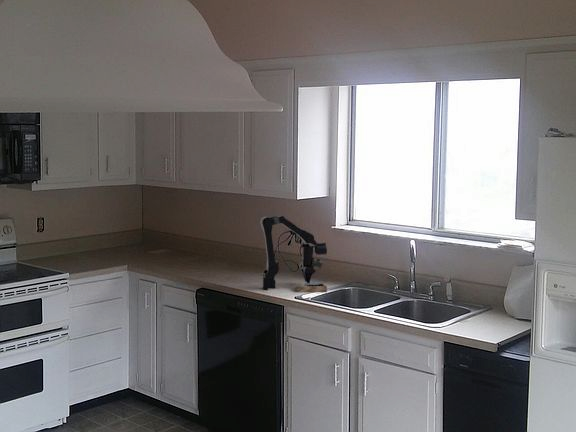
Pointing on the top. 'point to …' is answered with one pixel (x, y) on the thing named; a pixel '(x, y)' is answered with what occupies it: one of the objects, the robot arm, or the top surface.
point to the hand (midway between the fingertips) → (307, 282)
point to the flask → (313, 284)
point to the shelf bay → (311, 288)
